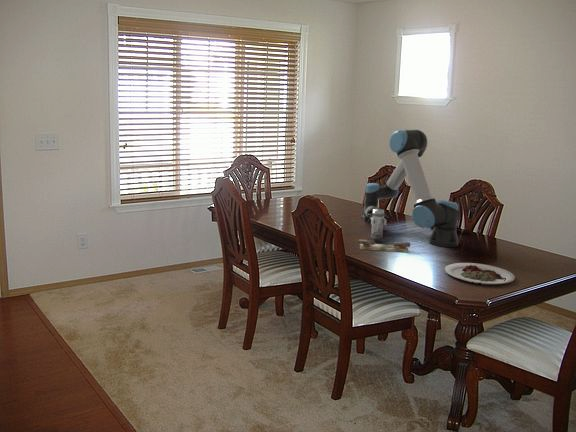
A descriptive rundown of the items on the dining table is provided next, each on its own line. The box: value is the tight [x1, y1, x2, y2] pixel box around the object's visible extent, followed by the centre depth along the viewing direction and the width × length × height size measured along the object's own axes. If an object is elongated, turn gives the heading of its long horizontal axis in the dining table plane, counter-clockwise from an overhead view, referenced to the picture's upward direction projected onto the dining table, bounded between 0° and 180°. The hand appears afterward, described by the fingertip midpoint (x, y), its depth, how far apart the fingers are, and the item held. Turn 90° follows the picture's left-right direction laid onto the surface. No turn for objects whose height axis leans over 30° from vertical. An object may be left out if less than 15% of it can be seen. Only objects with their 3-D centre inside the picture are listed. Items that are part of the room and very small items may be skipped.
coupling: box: [370, 208, 385, 240], centre depth 327 cm, size 6×6×15 cm
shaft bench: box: [358, 239, 411, 253], centre depth 313 cm, size 26×8×4 cm, turn 85°
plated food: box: [444, 262, 516, 285], centre depth 274 cm, size 30×30×3 cm
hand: (379, 222), depth 322 cm, fingers closed on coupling, 6 cm apart
